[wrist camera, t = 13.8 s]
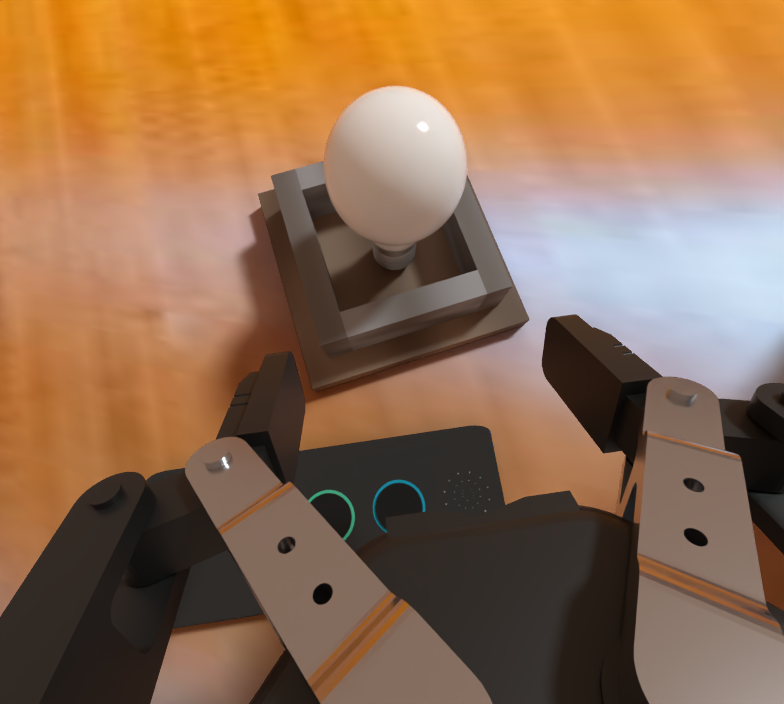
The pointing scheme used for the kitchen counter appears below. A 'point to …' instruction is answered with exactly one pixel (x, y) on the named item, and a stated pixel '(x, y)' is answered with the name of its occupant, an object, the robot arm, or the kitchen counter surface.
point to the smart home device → (360, 502)
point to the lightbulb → (395, 169)
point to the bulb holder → (382, 284)
